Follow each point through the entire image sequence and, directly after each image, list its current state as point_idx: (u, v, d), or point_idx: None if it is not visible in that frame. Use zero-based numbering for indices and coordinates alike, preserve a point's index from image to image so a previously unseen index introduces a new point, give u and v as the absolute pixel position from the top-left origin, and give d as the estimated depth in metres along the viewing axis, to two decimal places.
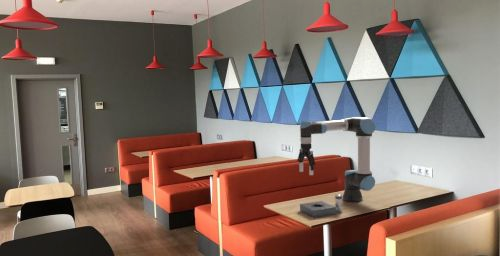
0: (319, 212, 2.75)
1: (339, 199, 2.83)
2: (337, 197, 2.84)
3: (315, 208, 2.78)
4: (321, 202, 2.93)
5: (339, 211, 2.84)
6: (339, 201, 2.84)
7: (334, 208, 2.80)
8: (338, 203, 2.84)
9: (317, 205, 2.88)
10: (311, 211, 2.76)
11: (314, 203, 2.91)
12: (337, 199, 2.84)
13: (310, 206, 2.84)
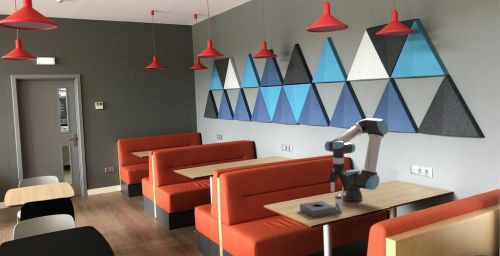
0: (319, 212, 2.75)
1: (339, 199, 2.83)
2: (337, 197, 2.84)
3: (315, 208, 2.78)
4: (321, 202, 2.93)
5: (339, 211, 2.84)
6: (339, 201, 2.84)
7: (334, 208, 2.80)
8: (338, 203, 2.84)
9: (317, 205, 2.88)
10: (311, 211, 2.76)
11: (314, 203, 2.91)
12: (337, 199, 2.84)
13: (310, 206, 2.84)
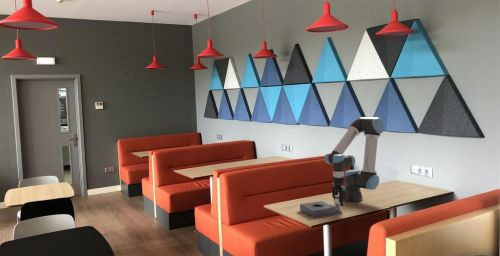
0: (319, 212, 2.75)
1: (339, 199, 2.83)
2: (337, 197, 2.84)
3: (315, 208, 2.78)
4: (321, 202, 2.93)
5: (339, 211, 2.84)
6: None
7: (334, 208, 2.80)
8: (338, 203, 2.84)
9: (317, 205, 2.88)
10: (311, 211, 2.76)
11: (314, 203, 2.91)
12: (337, 199, 2.84)
13: (310, 206, 2.84)
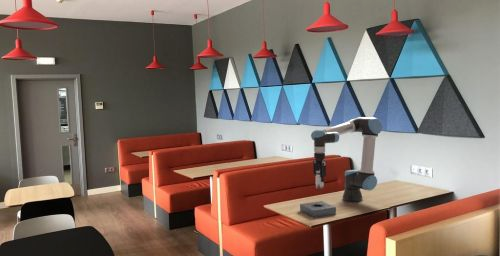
0: (319, 212, 2.75)
1: None
2: (318, 173, 2.81)
3: (315, 208, 2.78)
4: (321, 202, 2.93)
5: (320, 187, 2.82)
6: None
7: (334, 208, 2.80)
8: (319, 179, 2.81)
9: (317, 205, 2.88)
10: (311, 211, 2.76)
11: (314, 203, 2.91)
12: (318, 175, 2.81)
13: (310, 206, 2.84)
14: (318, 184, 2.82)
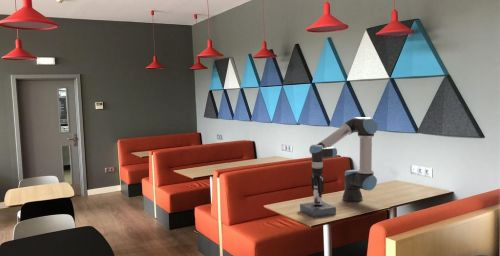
0: (319, 212, 2.75)
1: None
2: (316, 188, 2.82)
3: (315, 208, 2.78)
4: (321, 202, 2.93)
5: (318, 202, 2.83)
6: None
7: (334, 208, 2.80)
8: (317, 194, 2.82)
9: (317, 205, 2.88)
10: (311, 211, 2.76)
11: (314, 203, 2.91)
12: (316, 190, 2.82)
13: (310, 206, 2.84)
14: (316, 199, 2.83)
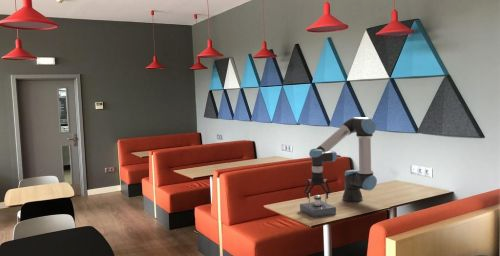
0: (319, 212, 2.75)
1: (320, 199, 2.84)
2: (319, 198, 2.83)
3: (315, 208, 2.78)
4: (321, 202, 2.93)
5: None
6: (320, 201, 2.84)
7: (334, 208, 2.80)
8: (320, 204, 2.84)
9: None
10: (311, 211, 2.76)
11: None
12: (319, 200, 2.83)
13: (310, 206, 2.84)
14: None
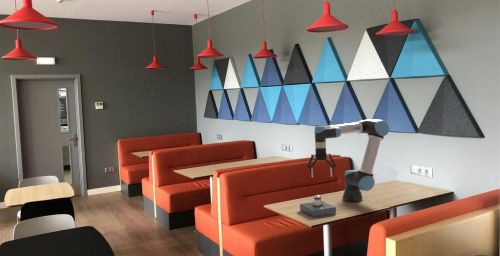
0: (319, 212, 2.75)
1: (320, 199, 2.84)
2: (319, 198, 2.83)
3: (315, 208, 2.78)
4: (321, 202, 2.93)
5: None
6: (320, 201, 2.84)
7: (334, 208, 2.80)
8: (320, 204, 2.84)
9: None
10: (311, 211, 2.76)
11: None
12: (319, 200, 2.83)
13: (310, 206, 2.84)
14: None
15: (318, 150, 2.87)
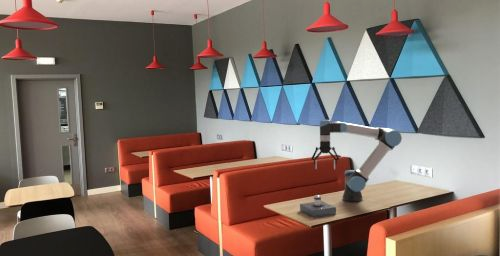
0: (319, 212, 2.75)
1: (320, 199, 2.84)
2: (319, 198, 2.83)
3: (315, 208, 2.78)
4: (321, 202, 2.93)
5: None
6: (320, 201, 2.84)
7: (334, 208, 2.80)
8: (320, 204, 2.84)
9: None
10: (311, 211, 2.76)
11: None
12: (319, 200, 2.83)
13: (310, 206, 2.84)
14: None
15: (322, 143, 3.00)
